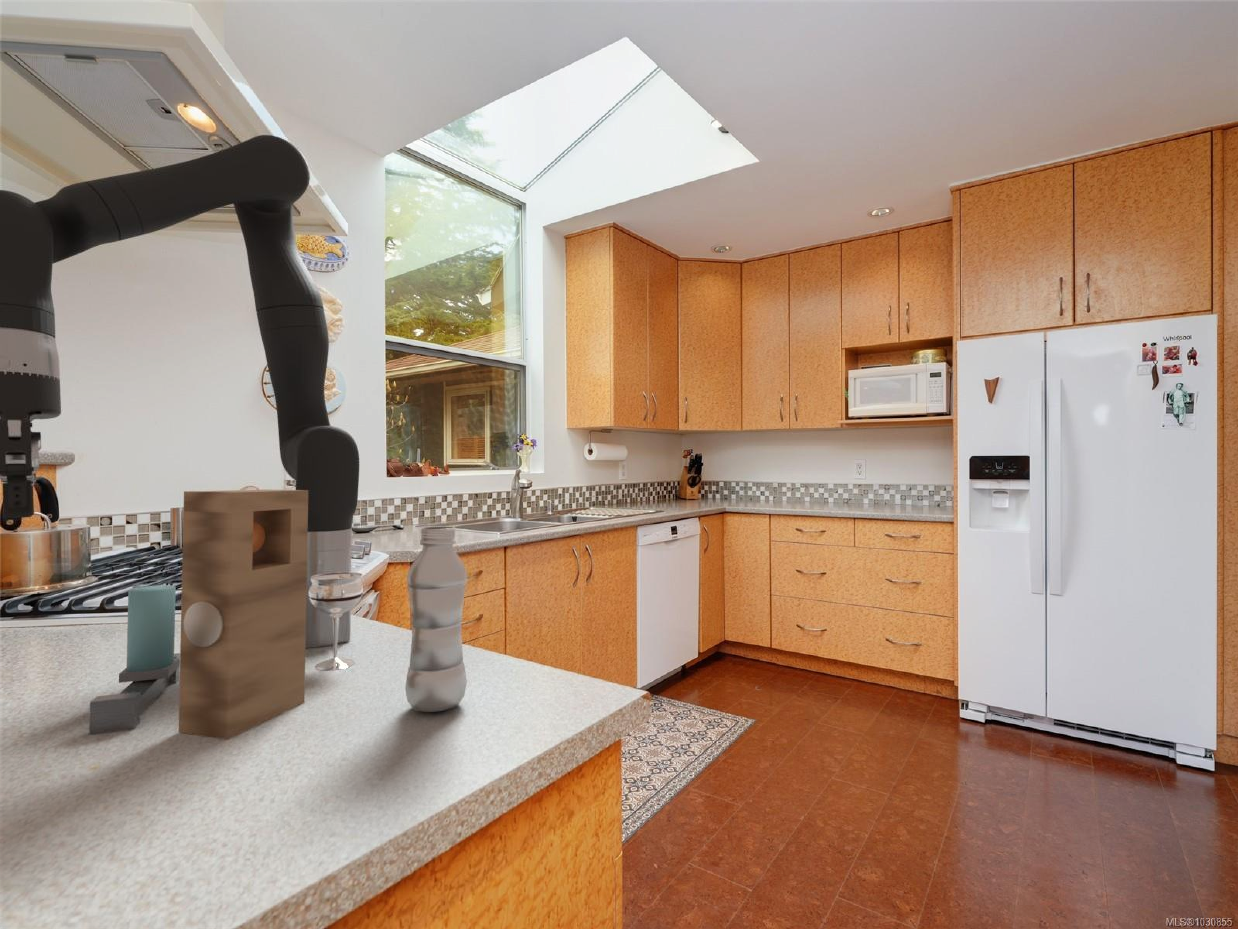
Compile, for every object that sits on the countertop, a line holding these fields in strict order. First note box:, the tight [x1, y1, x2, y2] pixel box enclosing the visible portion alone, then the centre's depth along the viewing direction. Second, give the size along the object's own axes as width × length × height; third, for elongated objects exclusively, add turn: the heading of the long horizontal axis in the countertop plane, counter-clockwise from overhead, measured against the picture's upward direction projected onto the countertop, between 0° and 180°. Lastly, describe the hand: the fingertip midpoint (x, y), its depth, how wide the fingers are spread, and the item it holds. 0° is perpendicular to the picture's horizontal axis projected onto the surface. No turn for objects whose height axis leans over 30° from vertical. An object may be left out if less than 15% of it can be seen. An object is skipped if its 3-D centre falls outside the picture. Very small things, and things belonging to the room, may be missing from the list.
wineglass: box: [309, 571, 364, 671], centre depth 82 cm, size 7×7×12 cm
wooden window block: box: [178, 489, 308, 740], centre depth 64 cm, size 6×10×24 cm, turn 166°
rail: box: [88, 653, 180, 735], centre depth 68 cm, size 4×16×3 cm, turn 23°
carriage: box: [118, 584, 180, 684], centre depth 71 cm, size 5×5×10 cm
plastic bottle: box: [404, 525, 468, 713], centre depth 67 cm, size 6×7×20 cm
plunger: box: [253, 523, 265, 553], centre depth 65 cm, size 7×3×3 cm, turn 76°
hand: (19, 517), depth 68 cm, fingers open, 8 cm apart
